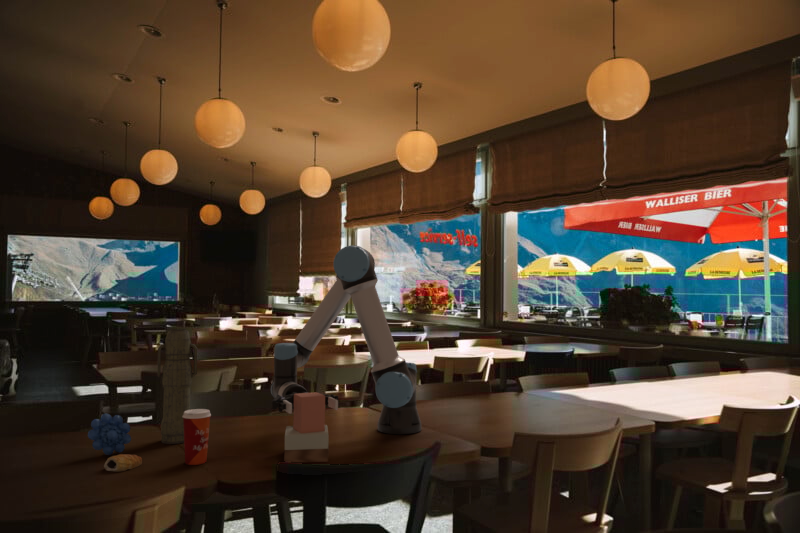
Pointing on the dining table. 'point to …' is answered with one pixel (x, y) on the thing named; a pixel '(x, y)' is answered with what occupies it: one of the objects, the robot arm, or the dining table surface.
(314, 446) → the tower top
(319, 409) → the salmon pink block
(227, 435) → the dining table surface
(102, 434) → the blue knobbly flower
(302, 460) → the tower base
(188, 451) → the paper cup
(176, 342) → the stone statue
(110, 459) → the pastry
